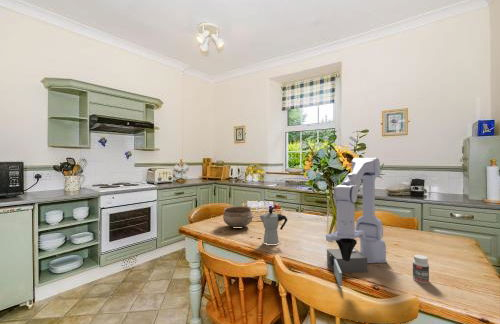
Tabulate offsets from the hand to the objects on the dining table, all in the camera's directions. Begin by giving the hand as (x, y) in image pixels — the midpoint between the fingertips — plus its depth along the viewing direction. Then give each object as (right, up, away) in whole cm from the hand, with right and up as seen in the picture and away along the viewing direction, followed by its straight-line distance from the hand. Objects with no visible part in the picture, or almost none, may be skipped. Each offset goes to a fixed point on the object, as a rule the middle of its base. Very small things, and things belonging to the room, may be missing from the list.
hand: (346, 259), depth 83 cm
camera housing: (+6, -9, +15) cm, 18 cm away
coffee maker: (-21, -9, +43) cm, 49 cm away
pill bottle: (+28, -9, +3) cm, 29 cm away
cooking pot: (-41, -9, +74) cm, 85 cm away
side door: (-2, -8, +4) cm, 9 cm away
